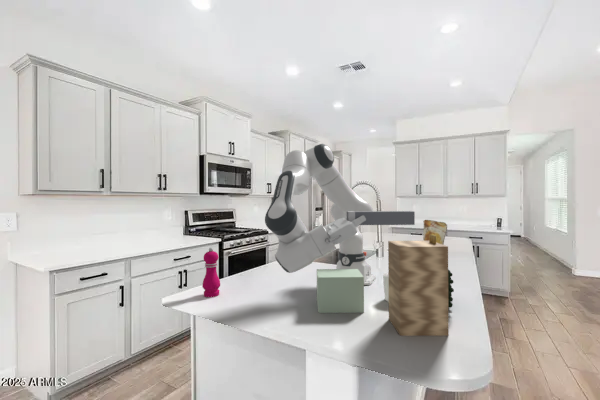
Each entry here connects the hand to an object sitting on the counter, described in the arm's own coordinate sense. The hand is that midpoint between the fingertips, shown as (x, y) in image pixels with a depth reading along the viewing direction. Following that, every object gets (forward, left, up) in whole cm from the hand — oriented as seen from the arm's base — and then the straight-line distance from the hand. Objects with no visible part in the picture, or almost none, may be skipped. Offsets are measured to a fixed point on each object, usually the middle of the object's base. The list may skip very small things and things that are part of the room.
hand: (362, 216), depth 95 cm
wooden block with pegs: (-10, +13, -35) cm, 38 cm away
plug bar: (-3, +4, -2) cm, 6 cm away
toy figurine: (-37, +14, -35) cm, 53 cm away
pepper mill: (+6, -66, -35) cm, 75 cm away
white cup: (-30, -1, -35) cm, 46 cm away
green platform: (-12, -15, -35) cm, 39 cm away
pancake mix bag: (-77, +3, -35) cm, 84 cm away
